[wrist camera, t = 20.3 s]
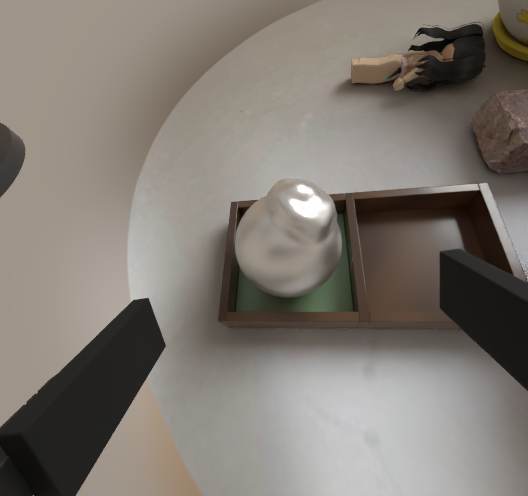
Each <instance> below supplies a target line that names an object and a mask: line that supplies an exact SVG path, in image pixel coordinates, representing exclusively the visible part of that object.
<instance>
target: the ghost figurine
mask: <svg viewBox="0 0 528 496" xmlns="http://www.w3.org/2000/svg"><path fill="white" fill-rule="evenodd" d="M341 251H342V238H341V232H340V228H339V226H338V223H337V212H336V209H335V204H334V202H333V200H332V198H331V197H330V196H329V195H328V194H327V193H326V192H325V191H324V190H322V189H321V188H320V187H318V186H317V185H315V184H313V183H311V182H308V181H305V180H299V179H283V180H281V181H279V182H277V183H276V184H275V185H274V186H273V187H272V188H271V190H270V191H269V192H268V194H267V196H265V197H263V198H261V199H259V200H258V201H257V202H255V203H254V204H253V205H252V206H251V207H250V208H249V209H248V210H247V211H246V213H245V214H244V215H243V217H242V219H241V221H240V223H239V225H238V228H237V231H236V237H235V252H236V257H237V261H238V263H239V266H240V268H241V270H242V272H243V273H244V275H245V276H246V277H247V279H248V280H249V281H250V282H251V283H252V284H253V285H254V286H256V287H257V288H259V289H260V290H262V291H264V292H266V293H268V294H271V295H274V296H278V297H286V298H291V297H299V296H303V295H306V294H309V293H311V292H313V291H315V290H317V289H318V288H320V287H321V286H322V285H323V284H325V283H326V282H327V281H328V279H329V278H330V277H331V276H332V274H333V273H334V271H335V269H336V268H337V265H338V263H339V260H340V256H341Z"/></svg>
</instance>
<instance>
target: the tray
mask: <svg viewBox="0 0 528 496" xmlns="http://www.w3.org/2000/svg"><path fill="white" fill-rule="evenodd" d="M329 196H330V197H331V198H332V200H333V202H334V204H335V209H336V212H337V223H338V226H339V228H340V232H341V238H342V251H341V256H340V260H339V263H338V265H337V268H336V269H335V271H334V273H333V274H332V276H331V277H330V278H329V279H328V281H327V282H326V283H325V284H323V285H322V286H321V287H320V288H318V289H317V290H315V291H313V292H311V293H309V294H306V295H303V296H299V297H291V298H286V297H278V296H274V295H271V294H268V293H266V292H264V291H262V290H260V289H259V288H257V287H256V286H254V285H253V284H252V283H251V282H250V281H249V280H248V279H247V277H246V276H245V275H244V273H243V272H242V270H241V268H240V266H239V263H238V261H237V257H236V252H235V237H236V231H237V228H238V225H239V223H240V221H241V219H242V217H243V215H244V214H245V213H246V211H247V210H248V209H249V208H250V207H251V206H252V205H253V204H254V203H255V202H257V201H258V200H251V201H239V202H231V209H230V218H229V227H228V236H227V245H226V254H225V263H224V272H223V280H222V289H221V298H220V307H219V316H218V321H219V322H221V323H222V324H224V325H226V326H227V327H238V328H343V329H448V330H462V329H461V328H460V327H459V326H458V325H457V324H456V323H455V322H454V321H453V320H452V319H450V318H449V317H448V316H447V315H446V314H445V313H444V312H443V311H442V310H441V309H440V251H446V250H452V249H458V248H459V249H461V250H463V251H465V252H467V253H469V254H471V255H473V256H475V257H477V258H479V259H481V260H483V261H485V262H487V263H489V264H491V265H493V266H495V267H497V268H499V269H501V270H503V271H505V272H507V273H509V274H511V275H513V276H515V277H517V278H519V279H521V280H523V281H525V282H527V283H528V281H527V278H526V276H525V273H524V271H523V269H522V266H521V264H520V261H519V259H518V256H517V254H516V251H515V249H514V247H513V244H512V242H511V239H510V237H509V234H508V232H507V229H506V227H505V225H504V222H503V220H502V217H501V215H500V212H499V210H498V207H497V205H496V203H495V200H494V198H493V195H492V193H491V190H490V188H489V185H488V183H478V184H477V183H476V184H463V185H450V186H437V187H423V188H410V189H397V190H383V191H370V192H357V193H345V194H330V195H329Z"/></svg>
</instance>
